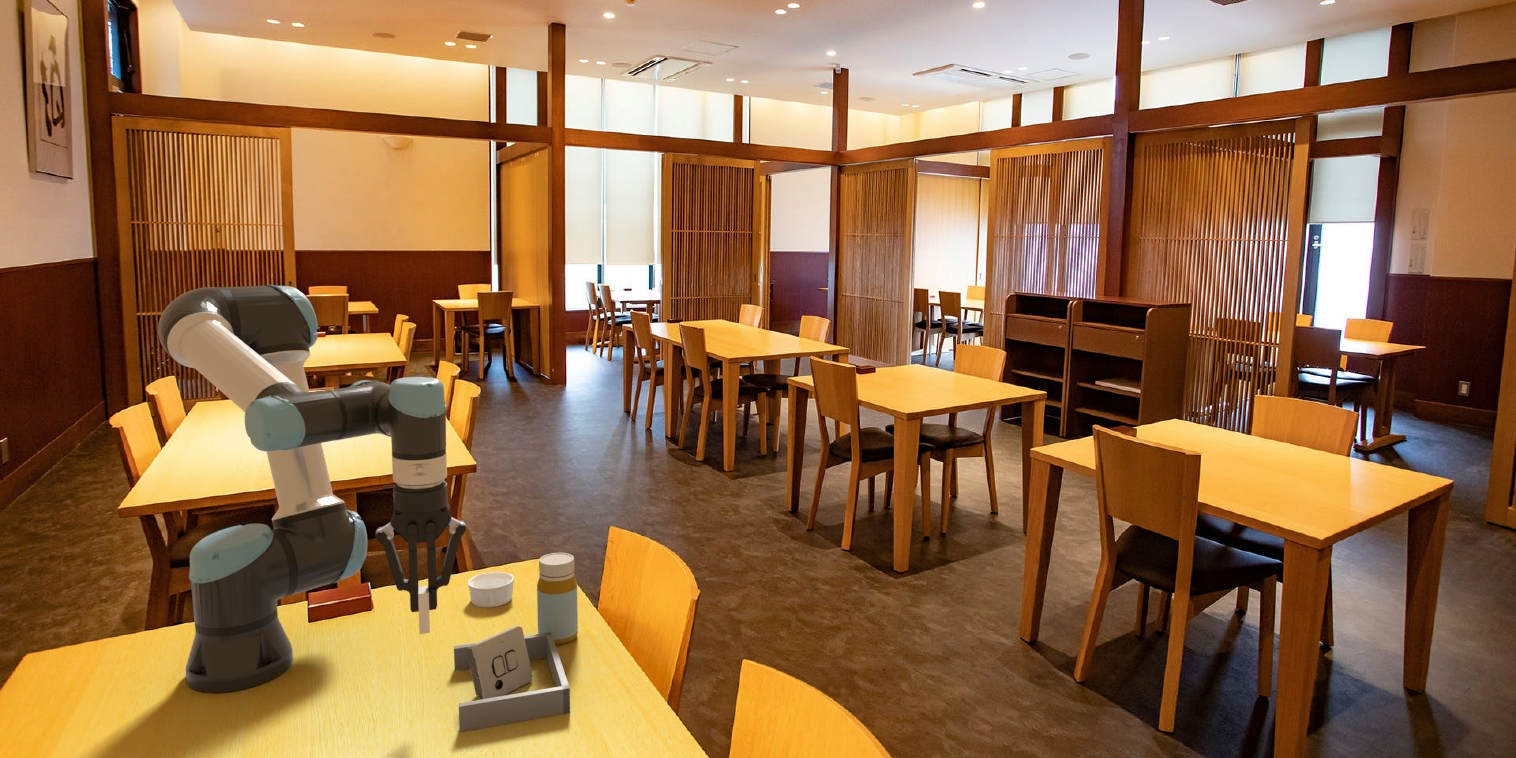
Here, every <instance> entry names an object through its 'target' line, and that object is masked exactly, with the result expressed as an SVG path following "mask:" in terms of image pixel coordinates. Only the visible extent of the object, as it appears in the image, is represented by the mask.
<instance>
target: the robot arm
mask: <svg viewBox="0 0 1516 758" xmlns="http://www.w3.org/2000/svg"><path fill="white" fill-rule="evenodd" d="M318 324H319V322H318V319H317V315H316V312H315V310H314V307H313V305H312V303H311V301H310V300H309V298H307V296H306V294H304V293H303V292H301V291H300V290H299V289H298V288H296V287H293V286H289V285H274V284H266V285H250V286H248V285H247V286H222V287H219V286H217V287H214V286H210V287H209V286H207V287H198V288H196V289H190V290H189V291H187V292H184V293H182V294H180V295H179V296H177V297H176V298H175V299H173V300H172V301H171V302H169V304H168V305H167V306H166V307H165V308H164V310H163V311H162V313H161V315H160V318H159V321H158V328H157V332H158V333H157V334H158V338H159V342H160V344H161V346H162V347H163V349H164V351H165V352H166V353H167V354H168V355H169V356H170V358H172V359H173V360H174V361H176V363H178V364H180V365H182V366H184V367H187V368H192V369H194V370H196V371H197V372H199V373H200V374H201V375H202V377H204V378H205V379H206V380H207V381H209V382H210V383H211V384H212V385H213V386H214V387H216V388H217V389H218V390H219V391H220V392H221V393H222V394H223V395H225V396H226V397H227V398H228V399H229V400H230V401H231V402H232V403H234V404H235V405H236V406H237V407H238V408H239V409H240V410H241V411H243V412H244V427H245V431H246V435H247V436H248V438H249V439H250V443H251V445H252V446H253V447H254V448H255V449H257V450H259V451H262V452H266V454H267V459H268V463H269V467H270V472H271V477H272V481H273V485H274V490H275V495H276V498H277V503H278V509H277V511H276V512H275V514H274V515H273V516H272V518H271V521H272V527H273V529H272V528H271V527H270V526H269V525H267V524H264V523H248V524H244V525H242V524H238V525H234V526H231V527H230V526H229V527H227V528H223V529H220V530H218V531H215V532H213V533H210V534H208V535H207V536H205V537H204V538H201V540H199V541H198V542H197V543H196V544H195V545H194V546H193V547H192V548H191V551H190V553H189V571H188V578H189V581H190V587H191V596H192V608H193V609H192V610H193V618H194V619H193V620H194V628H195V629H194V630H195V631H194V632H195V634H194V638H193V641H192V645H191V648H190V651H189V655H188V659H187V662H186V666H185V677H186V678H185V679H186V684H187V686H188V687H189V688H191V687H192V688H191V689H193V690H195V691H198V692H202V691H205V692H204V693H226V692H227V693H228V692H233V691H234V692H235V691H239V690H244V689H248V688H252V687H255V686H258V685H261V684H264V683H266V682H267V683H268V681H271V680H273V679H275V678H277V677H279V676H280V675H282V674H284V673H285V671H287V670H288V669H289V668H290V667H291V666H292V664H293V661H294V656H293V646H292V644H291V641H290V640H289V637H288V635H287V634H286V631H285V629H284V627H283V625H282V623H281V621H280V619H279V616H278V615H279V614H278V600H281V599H284V598H287V597H290V596H291V597H292V596H294V595H297V594H300V593H304V592H307V591H310V590H313V589H316V588H320V587H324V586H327V585H332V584H336V583H338V582H339V581H342V580H344V579H348V578H350V577H353V576H354V575H356V574H357V573H358V572H359V571H360V570H361V569H362V567H363V565H364V561H366V558H367V552H368V534H367V528H366V525H365V522H364V520H362V517H361V516H360V514H358V512H357V511H353V510H349V509H347V507H346V502H345V501H344V499H341V498H340V497H338V496H336V495H335V494H334V493H333V492H334V491H333V489H332V484H331V479H330V475H329V471H328V466H327V463H326V459H325V454H324V450H323V449H324V448H323V445H322V443H327V442H333V441H335V442H336V441H341V440H346V439H352V438H357V437H362V436H363V437H364V436H368V435H369V436H370V435H373V434H374V435H375V434H377V435H379V434H380V435H384V436H387V437H389V438H391V439H390V440H391V441H390V443H391V466H392V469H391V470H392V481H393V482H394V483H395V484H394V485H393V487H392V494H393V513H392V516H390V517H391V518H390V522H388V523H387V524H385V525H384V526H379V527H377V528H376V530H375V539H376V540H377V541H378V543H379V544H381V546H382V548H383V550H384V554H385V556H386V559H387V562H388V565H389V568H390V571H391V574H392V578H393V581H394V583H395V587H396V590H397V591H400V592H401V591H405V592H408V593H409V601H410V602H409V603H410V606H409V607H410V611H411V613H417V612H418V629H419V631H418V632H419V635H424V634H430V632H431V626H430V622H431V621H430V620H431V619H430V611H432V610H437V607H438V590H439V589H440V588H441V587H447V586H448V585H449V584H450V579H451V576H452V572H453V567H454V563H455V560H456V555H457V551H458V547H459V543H460V540H461V539H462V537H463V535H464V534H465V532H467V531H466V530H467V525H466V521H465V520H463V519H461V520H458V519H456V518H455V517H452V513H451V511H450V510H449V505H448V503H449V502H448V482H446V480H445V479H446V478H447V477H448V468H447V467H448V465H447V432H446V431H447V417H446V416H447V403H446V400H445V397H446V396H445V387H444V384H443V382H442V381H441V380H440V379H438V378H435V377H427V376H426V377H425V376H408V377H401V378H397V379H394V380H393V381H392V382H391V383H389V384H388V383H386V382H385V381H384V382H382V381H380V380H368V379H367V380H365V379H364V380H358V381H356V382H354V383H352V384H351V385H350V386H348V387H342V388H341V387H340V388H335V389H326V390H317V391H310V389H309V384H308V381H307V375H306V372H305V367H304V365H305V362H307V360H308V359H309V357H310V356H311V352H310V348H312V347H313V346H314V345H315V344H316V342H317V340H318V336H319V333H318V331H317V330H318V329H319V325H318ZM448 526H449V528H448V532H449V534H450V535H449V539H448V542H447V543H448V544H447V548H446V552H445V555H444V556H445V557H444V558H443V559H444V561H443V564H442V568H441V571H440V572H441V573H440V575H438V576H437V556H436V555H437V552H436V548H437V547H436V544H437V543H436V540H438V539H439V538H440V536H441V535H442V534H443V533H444V531H445V529H446V528H447V527H448ZM394 530H395V532H396V533H397V534H398V535H399V536H400V537H401V538H402V539H403V541H404V542H406V543H408V548H407V549H408V570H409V571H408V573H409V574H408V575H409V578H407V579H406V576H405V574H404V571H403V567H402V564H401V562H400V557H399V555H398V552H397V549H396V546H395V543H394V540H393V539H394V535H395V534H394ZM420 543H425V544H426V558H427V559H426V561H427V562H426V564H427V585H422V586H419V559H418V558H419V557H418V555H419V554H418V544H420Z"/></svg>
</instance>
